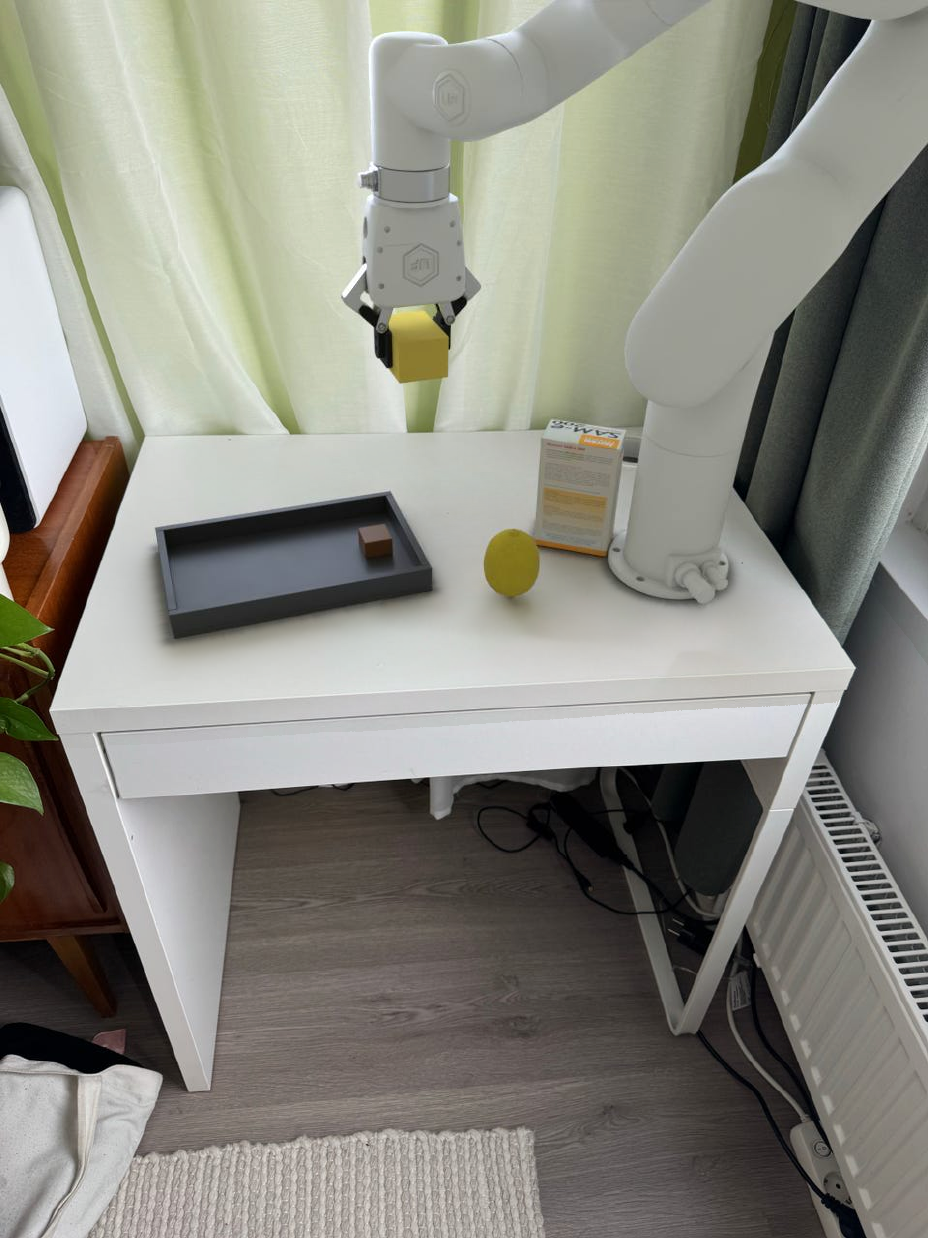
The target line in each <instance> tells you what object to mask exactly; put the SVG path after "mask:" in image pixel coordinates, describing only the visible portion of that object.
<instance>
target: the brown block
mask: <svg viewBox="0 0 928 1238" xmlns="http://www.w3.org/2000/svg"><path fill="white" fill-rule="evenodd" d="M358 539H359V545H360V547H361V549H362V551H363V554H364V556H365V558H372V557H378V556H383V555H389V554H393V539H392V537H391V535H390V533H389V531H388V529H387V527H386V525H385V524H381V525H375V526H369V527H363V528H358Z"/></svg>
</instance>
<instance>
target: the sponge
mask: <svg viewBox="0 0 928 1238" xmlns="http://www.w3.org/2000/svg"><path fill="white" fill-rule="evenodd" d="M432 319H433V317H431V316H430V315H429V313H427V311H425V310H416V311H408V312H399V313H392V315H391V318H390V322H389V330H390V331H391V332H392V361H393V366H392V368H387V369H388V370H389V372H390V373H391V374H392V376H393V378H395V379H396V381H397V382H398V384H400V385H401V384H408V383H415V382H423V381H431V380H438V379H445V378H449V350H448V348H449V337H448V336H447V335H446V334H445V333H444V332H443V330H442V329H441V328H440V327H439V326H438V325H437V324H436V323H435V322H434V321H433V320H432Z"/></svg>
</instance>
